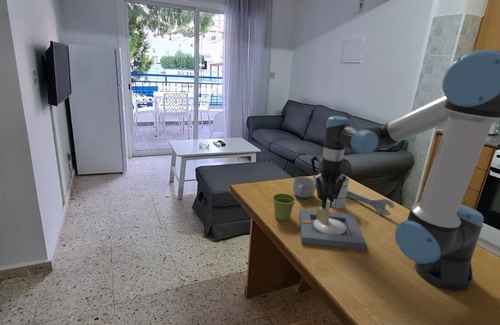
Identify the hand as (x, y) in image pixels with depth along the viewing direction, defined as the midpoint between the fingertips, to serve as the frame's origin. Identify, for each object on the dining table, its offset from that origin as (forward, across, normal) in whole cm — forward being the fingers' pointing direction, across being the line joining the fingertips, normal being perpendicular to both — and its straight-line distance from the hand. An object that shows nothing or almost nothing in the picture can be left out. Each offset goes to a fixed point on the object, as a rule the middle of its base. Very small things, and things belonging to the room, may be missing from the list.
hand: (325, 215), depth 120 cm
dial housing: (+4, 0, +5) cm, 6 cm away
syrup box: (+4, -14, -14) cm, 20 cm away
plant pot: (+4, +15, -8) cm, 17 cm away
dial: (+3, +1, +5) cm, 5 cm away
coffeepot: (+5, -18, -35) cm, 40 cm away
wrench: (+5, -27, -13) cm, 30 cm away
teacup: (+4, -2, -26) cm, 27 cm away
